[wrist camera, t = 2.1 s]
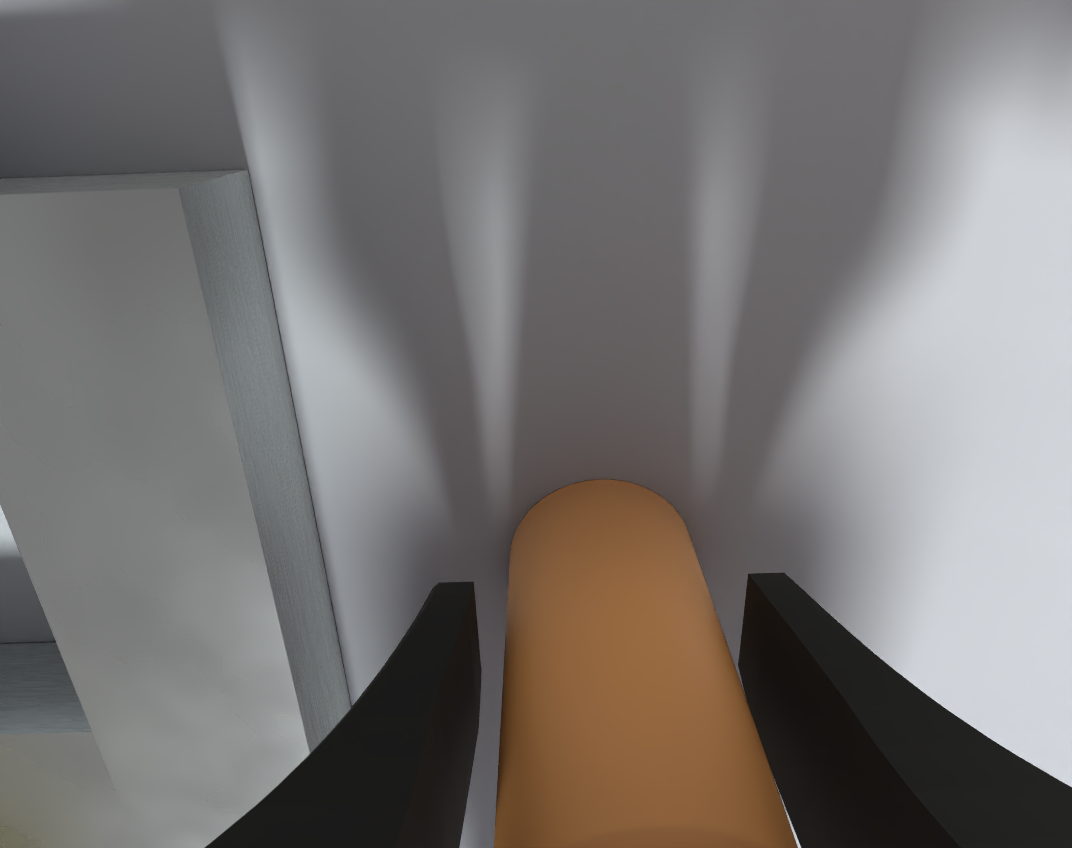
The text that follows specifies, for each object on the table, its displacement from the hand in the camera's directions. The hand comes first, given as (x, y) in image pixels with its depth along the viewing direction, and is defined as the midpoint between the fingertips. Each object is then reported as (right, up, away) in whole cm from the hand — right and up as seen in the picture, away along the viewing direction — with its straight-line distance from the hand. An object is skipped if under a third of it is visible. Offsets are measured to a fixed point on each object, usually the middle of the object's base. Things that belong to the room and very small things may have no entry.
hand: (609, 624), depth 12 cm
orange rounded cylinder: (0, +1, +2) cm, 2 cm away
